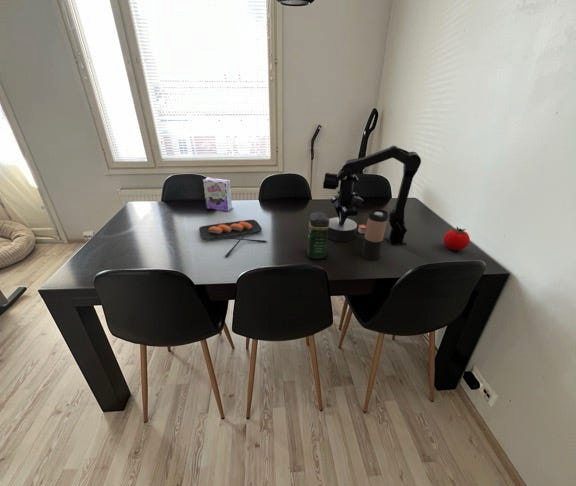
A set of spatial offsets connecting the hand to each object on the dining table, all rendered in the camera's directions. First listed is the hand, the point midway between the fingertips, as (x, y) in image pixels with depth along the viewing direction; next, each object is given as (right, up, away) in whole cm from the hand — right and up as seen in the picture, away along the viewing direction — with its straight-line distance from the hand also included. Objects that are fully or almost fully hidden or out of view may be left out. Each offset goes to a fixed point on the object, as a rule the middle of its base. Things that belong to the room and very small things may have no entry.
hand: (341, 222), depth 140 cm
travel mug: (+10, -17, -12) cm, 23 cm away
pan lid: (0, -1, +1) cm, 1 cm away
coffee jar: (-13, -16, -12) cm, 24 cm away
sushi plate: (-51, -8, -3) cm, 52 cm away
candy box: (-65, +13, +28) cm, 72 cm away
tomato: (+50, -13, -5) cm, 52 cm away
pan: (0, -5, +4) cm, 7 cm away
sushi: (+13, -4, +7) cm, 16 cm away
